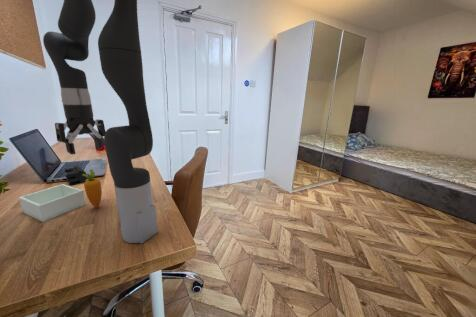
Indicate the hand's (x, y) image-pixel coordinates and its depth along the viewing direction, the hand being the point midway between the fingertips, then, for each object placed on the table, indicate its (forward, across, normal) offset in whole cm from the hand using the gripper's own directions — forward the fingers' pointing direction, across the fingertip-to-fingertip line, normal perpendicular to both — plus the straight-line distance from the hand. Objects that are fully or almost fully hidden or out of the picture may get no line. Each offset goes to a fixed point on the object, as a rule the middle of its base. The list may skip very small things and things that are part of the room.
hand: (86, 151), depth 73 cm
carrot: (+22, 0, 0) cm, 22 cm away
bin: (+22, -7, +13) cm, 27 cm away
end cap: (+23, +12, +34) cm, 42 cm away
